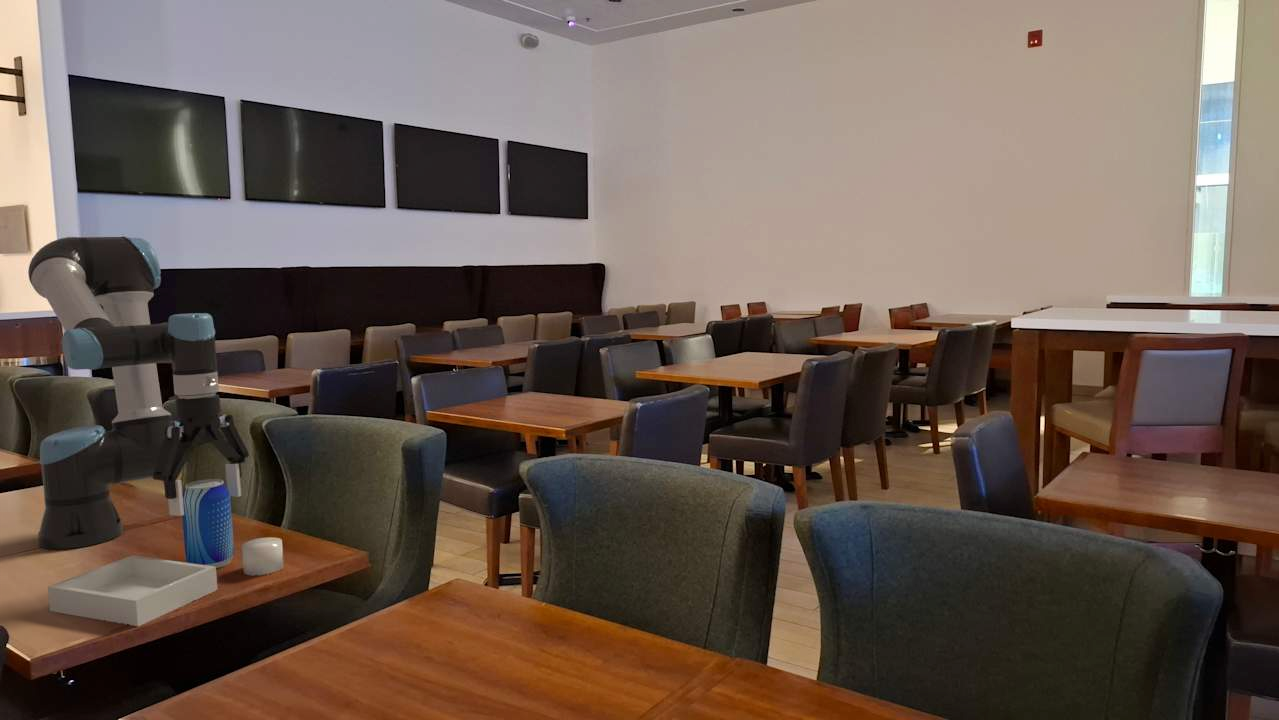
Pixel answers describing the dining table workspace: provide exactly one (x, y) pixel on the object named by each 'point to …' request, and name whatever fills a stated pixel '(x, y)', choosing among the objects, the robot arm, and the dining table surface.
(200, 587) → the tray
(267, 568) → the white pillar candle
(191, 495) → the beer can
